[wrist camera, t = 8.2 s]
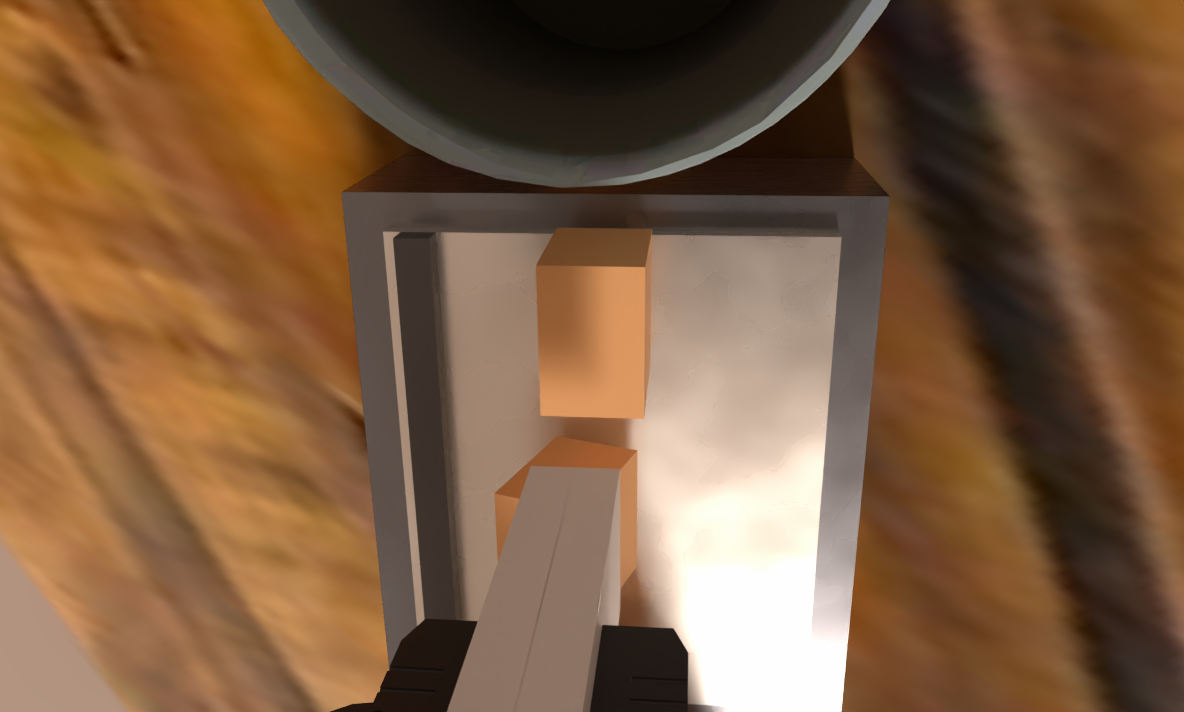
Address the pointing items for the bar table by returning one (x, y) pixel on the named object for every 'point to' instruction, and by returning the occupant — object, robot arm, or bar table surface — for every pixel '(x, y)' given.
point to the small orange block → (580, 456)
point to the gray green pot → (576, 76)
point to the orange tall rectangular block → (595, 322)
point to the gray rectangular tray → (673, 405)
